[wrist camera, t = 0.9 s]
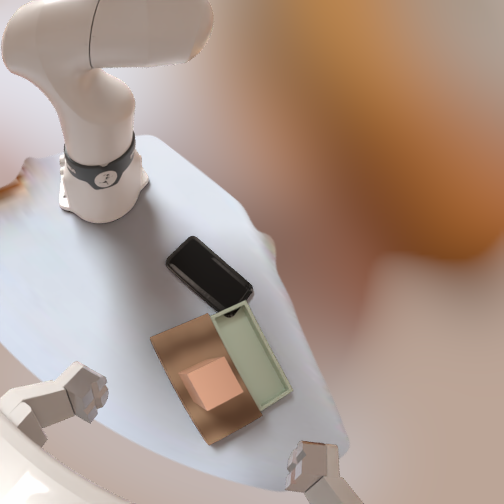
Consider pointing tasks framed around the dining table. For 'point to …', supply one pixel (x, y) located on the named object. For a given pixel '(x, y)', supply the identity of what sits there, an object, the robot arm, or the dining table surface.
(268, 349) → the box
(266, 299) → the dining table surface
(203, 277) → the phone
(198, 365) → the terracotta block
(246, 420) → the platform
